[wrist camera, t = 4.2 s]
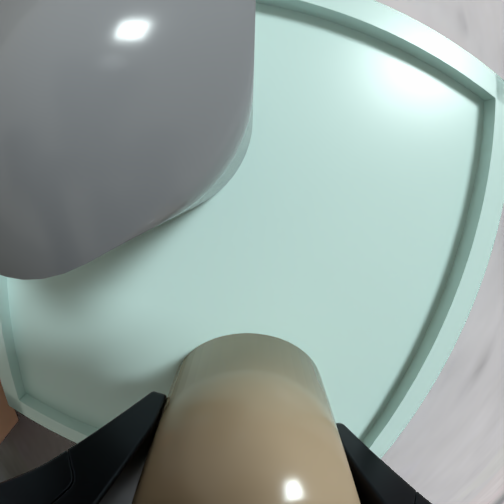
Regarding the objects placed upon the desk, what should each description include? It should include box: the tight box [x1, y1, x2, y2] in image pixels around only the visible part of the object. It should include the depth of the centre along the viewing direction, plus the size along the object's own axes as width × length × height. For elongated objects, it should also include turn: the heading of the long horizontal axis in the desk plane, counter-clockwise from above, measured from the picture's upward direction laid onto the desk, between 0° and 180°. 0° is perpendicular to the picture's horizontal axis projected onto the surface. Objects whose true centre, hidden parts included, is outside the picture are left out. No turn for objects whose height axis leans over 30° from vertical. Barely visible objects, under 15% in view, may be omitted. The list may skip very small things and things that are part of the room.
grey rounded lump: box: [0, 0, 256, 280], centre depth 4 cm, size 5×5×5 cm
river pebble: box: [132, 333, 360, 504], centre depth 6 cm, size 5×5×5 cm
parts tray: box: [0, 0, 504, 459], centre depth 7 cm, size 16×17×1 cm
